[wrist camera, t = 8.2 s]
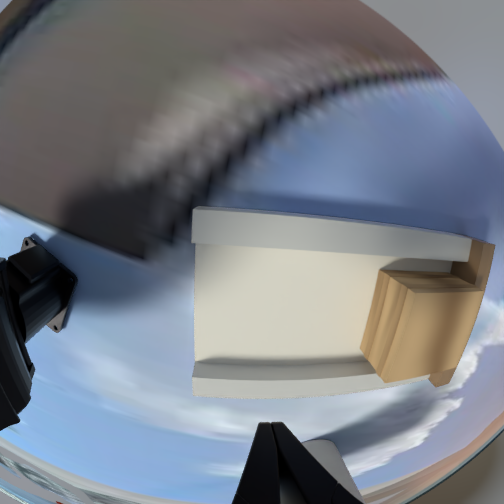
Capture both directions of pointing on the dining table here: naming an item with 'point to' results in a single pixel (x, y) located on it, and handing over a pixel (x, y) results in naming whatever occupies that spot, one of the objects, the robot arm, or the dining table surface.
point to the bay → (303, 298)
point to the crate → (418, 323)
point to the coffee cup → (333, 463)
